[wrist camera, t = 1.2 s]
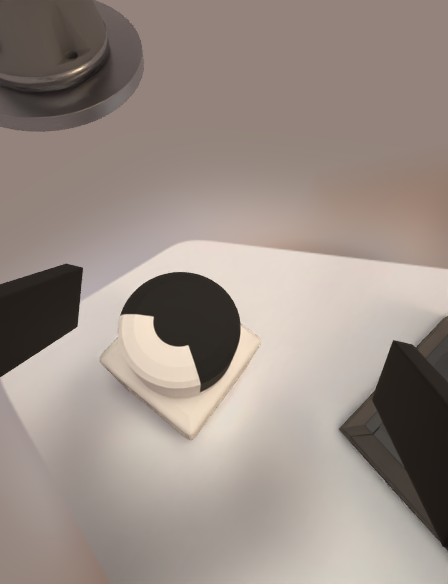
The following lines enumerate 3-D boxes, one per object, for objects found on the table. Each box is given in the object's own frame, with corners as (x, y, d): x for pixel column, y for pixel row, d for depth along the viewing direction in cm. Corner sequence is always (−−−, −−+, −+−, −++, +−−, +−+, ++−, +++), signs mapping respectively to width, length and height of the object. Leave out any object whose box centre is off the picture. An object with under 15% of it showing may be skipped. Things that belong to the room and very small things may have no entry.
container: (178, 312, 33) (171, 231, 21) (248, 364, 31) (282, 310, 19) (118, 380, 30) (69, 333, 18) (191, 442, 28) (190, 434, 16)
